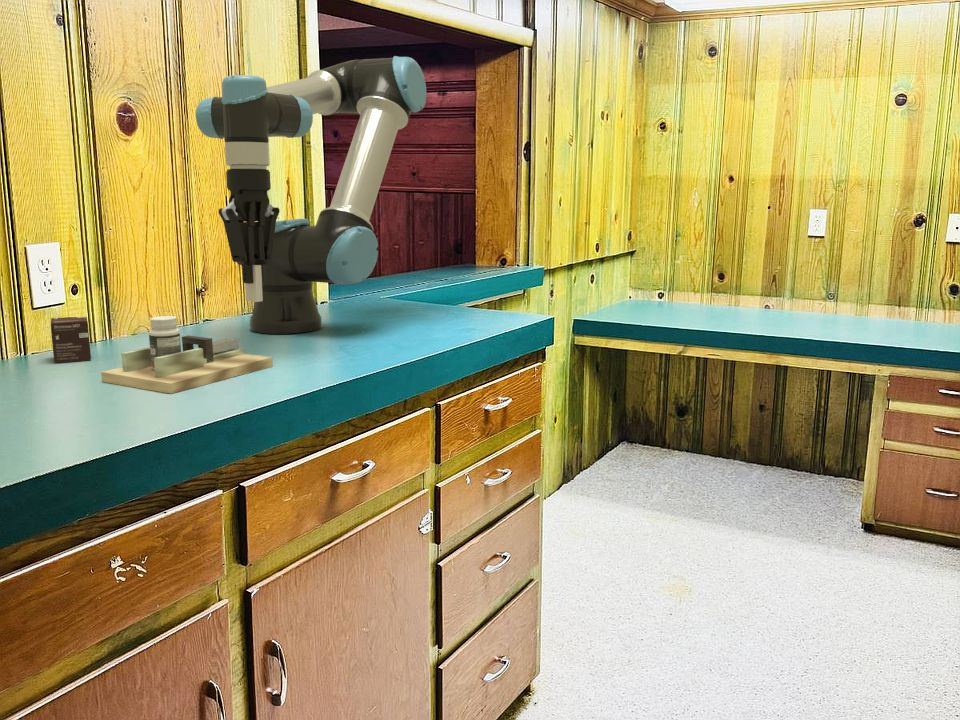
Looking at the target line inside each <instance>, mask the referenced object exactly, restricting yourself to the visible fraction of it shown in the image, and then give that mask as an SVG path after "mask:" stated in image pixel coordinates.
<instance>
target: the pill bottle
mask: <svg viewBox="0 0 960 720" xmlns="http://www.w3.org/2000/svg"><path fill="white" fill-rule="evenodd" d="M149 321H150V328H151V329H150V330H149V332H148V338H149V339H148V340H149V347H150V353H151V365H152V369H153V370H155V366H154V358H156V357H160V356H165V355H169V354H174V353H178V352H182V341H181V331H180V329H179V328H178V327H177V325H178V317H177V316H175V315H161V316H152V317H150V320H149Z"/></svg>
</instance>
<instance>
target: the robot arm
mask: <svg viewBox="0 0 960 720" xmlns="http://www.w3.org/2000/svg"><path fill="white" fill-rule="evenodd" d="M221 85H222V87H221V89H222V90H221V96H213V97H207V98H204V99H201V100H200V101H199V102H198V104H197V106H196V111H195V120H196V125H197V127H198V129H199V131H200V132H201V133H202V134H203V135H204V136H205V137H207V138H212V139H213V138H214V139H219V140H222V139H223V140H224V156H225V165H226V166H227V167H229V168H228V169H227V170H226V171H225V176H226V177H225V178H226V179H225V180H226V189H227V190H228V191H229V193H230V195H229V197H228V204H227V205H226V206H225V208H224V207H223V208H219V209H218V214H219V217H220V218H221V220H222V222H223V225H224V230H225V234H226V238H227V243H228V246H229V251H230V255H231V260H232V262H234V263H237V265H238V266H241V270H242V271H241V273H242V282H243V284H244V293H245V301H246V302H254V303H253V309H252V313H251V314H252V315H251V316H250V318H249V327H250V331H252V332H254V333H259V334H269V335H270V334H271V335H275V334H276V335H278V334H279V335H284V334H285V335H286V334H300V333H308V332H312V331H317V330H320V329H321V328H322V327H323V326H322V316H321V314H320V313H319V309H318V307H317V303H316V299H315V297H314V293H313V287H312V282H313V283H323V284H324V283H325V284H335V285H347V284H350V285H351V284H353V285H354V284H359V283H361V282H363V281H365V280H366V279H367V278H368V277H369V276H370V275H371V274H372V272H373V271H374V269H375V266H376V264H377V262H378V257H379V250H378V249H377V248H379V243H378V240H377V237H376V234H375V233H374V227H373V225H372V223H371V222H370V219H371V217H372V213H373V210H374V208H375V207H374V206H375V205H376V204H375V203H376V201H377V197H378V194H379V190H380V188H381V184H382V181H383V178H384V175H385V172H386V168H387V165H388V163H389V160H390V157H391V153H392V150H393V147H394V144H395V140H396V137H397V134H398V130H402V129H404V128H405V127H406V126H407V125H408V124H409V123H408V122H409V119H410V116H411V113H419V112H420V111H422V110H423V109H424V108H425V105H426V102H427V85H426V80H425V75H424V72H423V70H422V68H421V66H420V65H419V64H418V62H417V61H416V60H415V59H414V58H413V57H409V56H399V55H398V56H397V55H394V56H393V57H381V58H364V59H354V60H353V59H351V60H347V61H343V62H341V63H336V64H335V65H332V66H328V67H325V68H322V69H318V70H317V69H316V70H313V71H312V72H311V73H310V74H309V75H308V76H307V77H305V78H301V79H296V80H292V81H289V82H287V81H286V82H284V83H279V84H275V85H270V86H267V82H266V80H265V79H264V77H260V76H259V75H258V76H256V75H246V74H245V75H243V74H241V75H240V74H238V75H237V74H235V75H228V76H227V75H226V76H225V77H224V79H222V84H221ZM316 114H319V115H321V116H330V115H333V114H359V119H358V122H357V125H356V128H355V131H354V133H353V137H352V139H351V140H352V141H351V142H350V146H349V148H348V152H347V155H346V157H345V161H344V163H343V167H342V169H341V173H340V176H339V178H338V182H337V185H336V188H335V191H334V193H333V197H332V200H331V203H330V205H329V207H326V208H324V209H322V210H321V211H320V212H319V215H318V218H317V220H316V224H315V225H311V223H310V221H309V219H307V218H296V219H295V218H294V219H285V220H277V219H278V216H279V214H280V208H279V207H274V206H273V205H272V204H271V203H270V197H269V194H268V191H270V190H271V171H270V170H269V169H268V167H269V166H270V165H271V161H270V160H271V159H270V158H271V157H270V143H269V141H270V140H269V138H270V137H271V138H273V137H279V138H282V137H283V138H287V139H289V138H291V139H294V138H302V137H304V136H305V135H306V134H308V133H309V132H310V130H311V128H312V125H313V123H314V121H313V120H314V115H316Z"/></svg>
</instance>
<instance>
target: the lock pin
mask: <svg viewBox="0 0 960 720" xmlns="http://www.w3.org/2000/svg"><path fill="white" fill-rule="evenodd" d="M239 343H240V342H239V339H238V338H230V337H227V338H222V339H218V340H212V344H213V355H217V354H221V353H226V352H230V351H234V350H238V349H240V344H239ZM197 348H202V346H201V345H197Z"/></svg>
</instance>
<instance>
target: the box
mask: <svg viewBox="0 0 960 720" xmlns="http://www.w3.org/2000/svg"><path fill="white" fill-rule="evenodd" d="M89 331H90V330H89V322H88V317H87V316H65V317H55V318H54V317H51V319H50V333H51V345H52V353H53V354H52V355H53V362H54V363H55V364H59V363H60V364H61V363H73V362H74V363H75V362H86V361H92V353H91V343H90V332H89Z"/></svg>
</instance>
